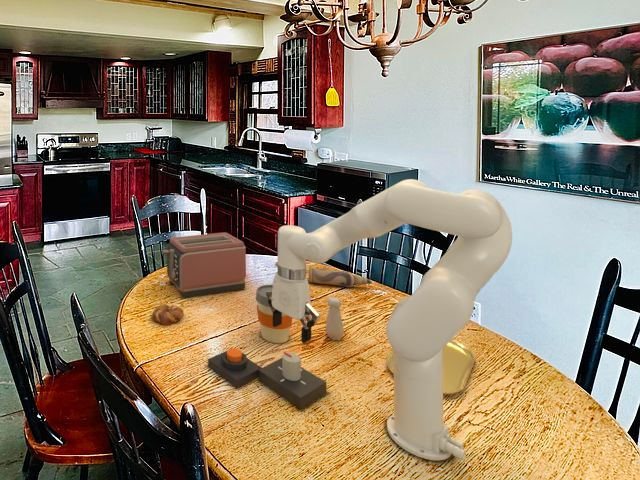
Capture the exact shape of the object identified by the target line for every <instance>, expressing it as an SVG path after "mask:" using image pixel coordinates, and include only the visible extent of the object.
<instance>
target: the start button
mask: <svg viewBox="0 0 640 480" xmlns="http://www.w3.org/2000/svg"><path fill="white" fill-rule="evenodd" d="M226 351H227V359H228V360H229V361H231V362H240V361H242V353H243V352H242V351H241V350H240V349H238V348H234V347H231V348H228V349H227V350H226Z"/></svg>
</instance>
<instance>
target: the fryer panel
mask: <svg viewBox="0 0 640 480" xmlns="http://www.w3.org/2000/svg"><path fill="white" fill-rule="evenodd" d="M258 381H259V382H260V383H262V384H263V385H265V386H266V387H268V388H269V389H270V390H272V391H273V392H275V393H276V394H277V395H279V396H281V398H283V399H284V400H286V401H288V402H289V403H290V404H292V405H293V406H295V407H296V408H297V409H299V410H303V409H304V408H305V407H307V406H308V405H310V404H312V403H313V402H316V400H318V399H319V398H321V397H323V396H325V395H326V394H327V381H325V380H324V379H322V378H320V377H318V376H317V375H316V374H314V373H312V372H311V371H308V370H307V369H305V368H304V367H302V366H301V378H300V380H298V381H291V380H288V379H286V378H285V377H284V376H283V374H282V357H281V358H279V359H277V360H274V361H272V362H271V363H269V364H267V365H264V366H263V367H261V369H259V377H258Z"/></svg>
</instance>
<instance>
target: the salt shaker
mask: <svg viewBox="0 0 640 480" xmlns="http://www.w3.org/2000/svg"><path fill="white" fill-rule="evenodd" d="M326 301H327V306H328V307H329V308H328V312H327V317H326V321H325V322H326V323H325V326H324V327H325V332H326V334H327V337H328V338H329V339H331V340H333V341H340V340H341V339H343V336H344V334H345V328H344V324H343V319H342V314H341V309H340V308H341V306H342V301H341V299H340V298H339V297H335V296H330V297H328V298H327V300H326Z"/></svg>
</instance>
